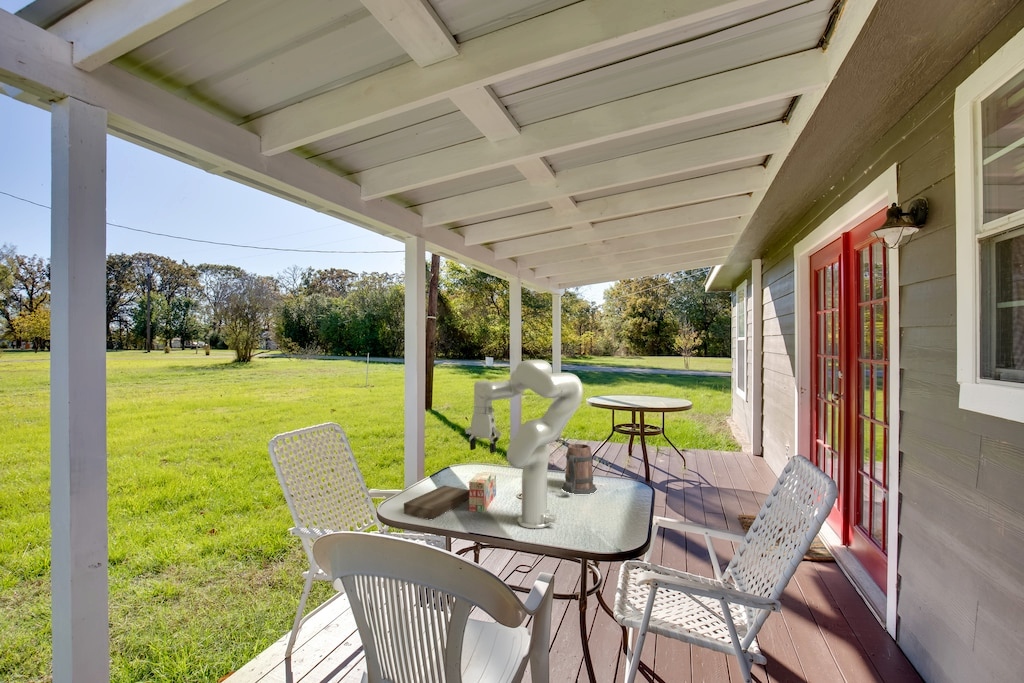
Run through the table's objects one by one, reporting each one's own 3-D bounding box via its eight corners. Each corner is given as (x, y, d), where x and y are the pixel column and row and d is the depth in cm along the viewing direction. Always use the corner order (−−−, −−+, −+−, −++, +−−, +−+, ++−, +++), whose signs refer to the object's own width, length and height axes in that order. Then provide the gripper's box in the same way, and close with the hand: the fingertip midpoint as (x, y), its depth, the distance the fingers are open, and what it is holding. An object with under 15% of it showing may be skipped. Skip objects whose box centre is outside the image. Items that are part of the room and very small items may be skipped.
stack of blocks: (482, 494, 204) (482, 466, 204) (496, 495, 203) (496, 467, 203) (468, 512, 183) (468, 481, 183) (484, 513, 182) (484, 482, 182)
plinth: (470, 499, 197) (470, 490, 197) (431, 520, 174) (431, 509, 174) (444, 494, 204) (444, 485, 204) (403, 513, 181) (403, 503, 181)
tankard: (567, 481, 223) (567, 440, 223) (601, 486, 215) (602, 444, 216) (550, 496, 202) (550, 450, 202) (587, 502, 194) (587, 455, 194)
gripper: (505, 410, 192) (504, 451, 192) (470, 407, 200) (470, 446, 200) (496, 413, 185) (495, 455, 185) (460, 409, 194) (460, 450, 194)
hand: (482, 450), depth 193 cm, fingers open, 9 cm apart
